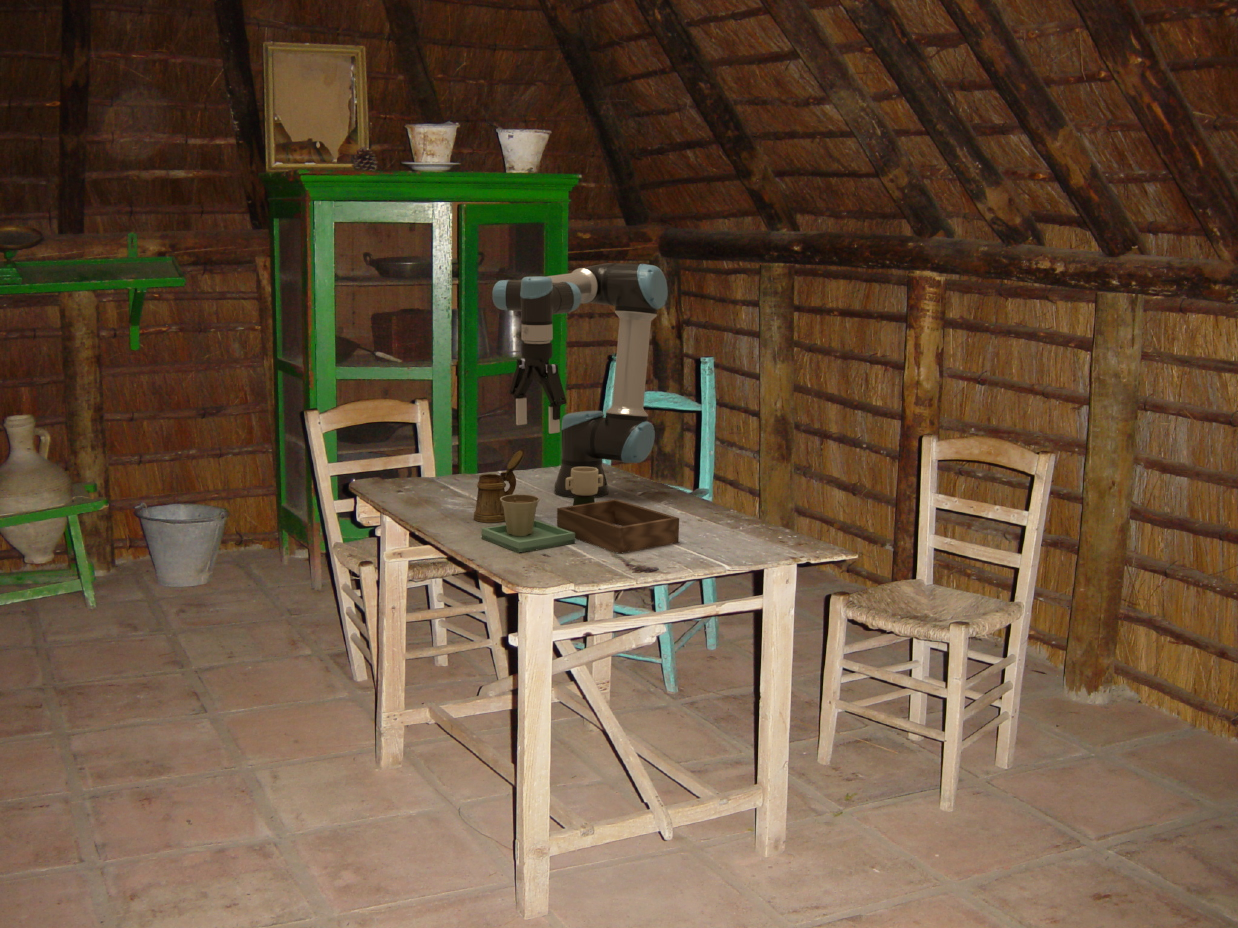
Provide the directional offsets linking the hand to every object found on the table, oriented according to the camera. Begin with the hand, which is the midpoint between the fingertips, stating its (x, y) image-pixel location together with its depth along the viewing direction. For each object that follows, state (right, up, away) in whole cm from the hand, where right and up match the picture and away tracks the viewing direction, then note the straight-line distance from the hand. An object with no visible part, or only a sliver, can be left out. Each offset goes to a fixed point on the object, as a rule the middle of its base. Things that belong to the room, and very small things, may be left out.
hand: (537, 428), depth 295 cm
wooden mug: (-11, -23, +16) cm, 30 cm away
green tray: (-2, -27, -6) cm, 28 cm away
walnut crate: (+19, -26, -1) cm, 33 cm away
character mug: (+11, -23, +18) cm, 31 cm away
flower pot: (-4, -26, -4) cm, 26 cm away
